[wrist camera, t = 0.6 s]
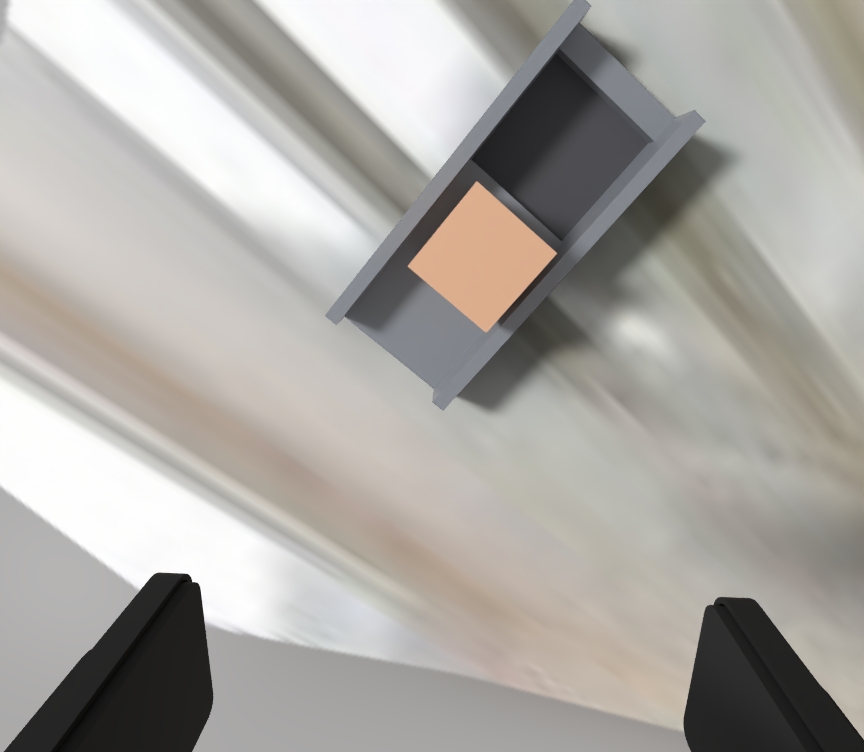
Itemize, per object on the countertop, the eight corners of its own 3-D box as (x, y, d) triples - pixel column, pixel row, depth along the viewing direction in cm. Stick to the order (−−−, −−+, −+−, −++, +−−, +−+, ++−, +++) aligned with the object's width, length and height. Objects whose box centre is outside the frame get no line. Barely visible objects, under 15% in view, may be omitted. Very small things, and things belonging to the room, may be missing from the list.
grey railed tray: (564, 19, 30) (579, -7, 26) (676, 131, 31) (705, 121, 27) (338, 304, 34) (324, 315, 31) (444, 390, 36) (443, 410, 32)
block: (472, 186, 31) (476, 180, 25) (538, 245, 32) (557, 253, 26) (415, 256, 32) (407, 266, 26) (480, 311, 33) (486, 332, 27)
